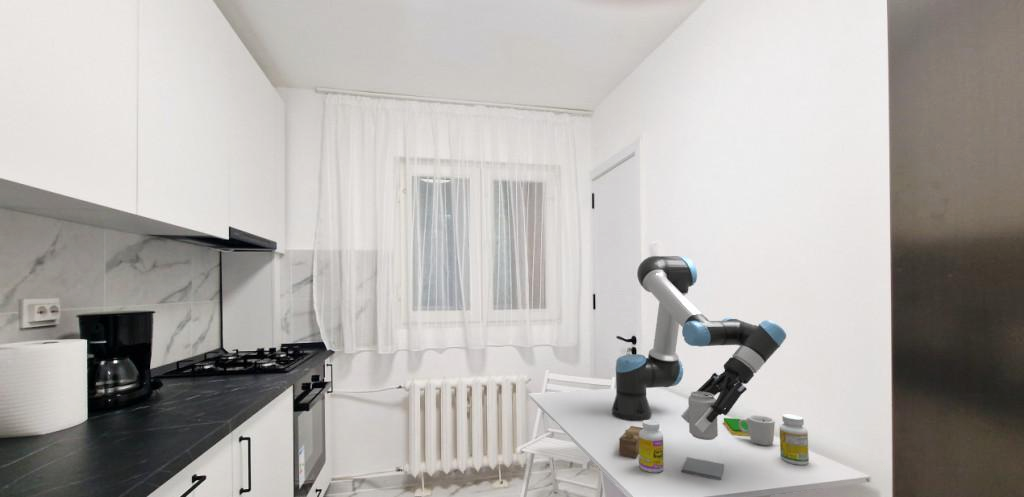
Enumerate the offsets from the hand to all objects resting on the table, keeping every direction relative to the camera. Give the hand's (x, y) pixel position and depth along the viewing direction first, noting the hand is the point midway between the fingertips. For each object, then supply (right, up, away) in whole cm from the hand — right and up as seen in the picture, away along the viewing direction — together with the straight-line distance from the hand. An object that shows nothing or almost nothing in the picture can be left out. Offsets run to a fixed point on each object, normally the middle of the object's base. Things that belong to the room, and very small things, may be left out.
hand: (691, 423), depth 125 cm
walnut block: (-13, -14, +14) cm, 24 cm away
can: (+3, -4, 0) cm, 5 cm away
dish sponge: (+31, -16, +34) cm, 49 cm away
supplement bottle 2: (+34, -14, +6) cm, 37 cm away
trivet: (+3, -13, 0) cm, 13 cm away
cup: (+31, -15, +22) cm, 41 cm away
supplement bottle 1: (-11, -13, 0) cm, 17 cm away
